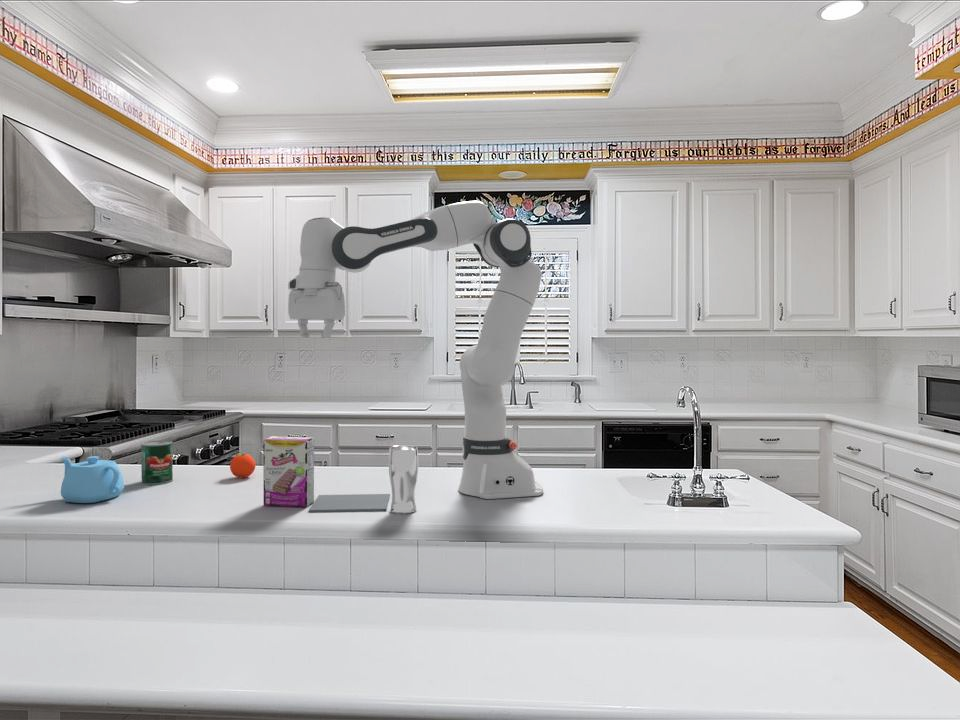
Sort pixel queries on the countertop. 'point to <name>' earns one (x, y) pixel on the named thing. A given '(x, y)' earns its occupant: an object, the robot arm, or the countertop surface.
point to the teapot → (91, 480)
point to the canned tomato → (156, 462)
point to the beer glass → (403, 478)
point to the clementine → (242, 465)
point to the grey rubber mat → (350, 503)
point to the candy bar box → (288, 471)
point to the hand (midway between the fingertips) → (315, 337)
